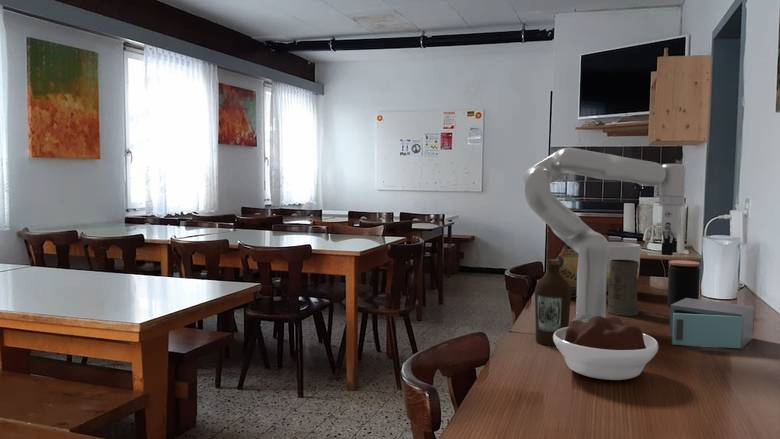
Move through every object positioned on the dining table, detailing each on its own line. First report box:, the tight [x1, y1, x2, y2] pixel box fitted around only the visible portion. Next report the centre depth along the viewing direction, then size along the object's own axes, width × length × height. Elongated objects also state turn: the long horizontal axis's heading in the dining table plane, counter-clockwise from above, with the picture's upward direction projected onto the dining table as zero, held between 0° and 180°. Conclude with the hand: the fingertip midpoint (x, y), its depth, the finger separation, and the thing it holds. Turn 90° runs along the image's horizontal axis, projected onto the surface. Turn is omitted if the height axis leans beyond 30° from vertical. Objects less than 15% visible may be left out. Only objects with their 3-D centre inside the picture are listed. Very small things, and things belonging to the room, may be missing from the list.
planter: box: [607, 241, 641, 293], centre depth 264 cm, size 20×20×21 cm
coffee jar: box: [667, 259, 701, 308], centre depth 232 cm, size 11×11×18 cm
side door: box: [671, 313, 745, 350], centre depth 178 cm, size 2×19×9 cm, turn 78°
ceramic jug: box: [555, 243, 579, 298], centre depth 256 cm, size 17×15×30 cm
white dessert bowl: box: [553, 315, 659, 381], centre depth 152 cm, size 25×25×15 cm
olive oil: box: [534, 258, 572, 346], centre depth 182 cm, size 11×11×25 cm
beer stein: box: [606, 259, 640, 317], centre depth 225 cm, size 15×11×20 cm
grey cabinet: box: [668, 298, 755, 346], centre depth 190 cm, size 16×20×10 cm
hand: (669, 253), depth 199 cm, fingers open, 9 cm apart
